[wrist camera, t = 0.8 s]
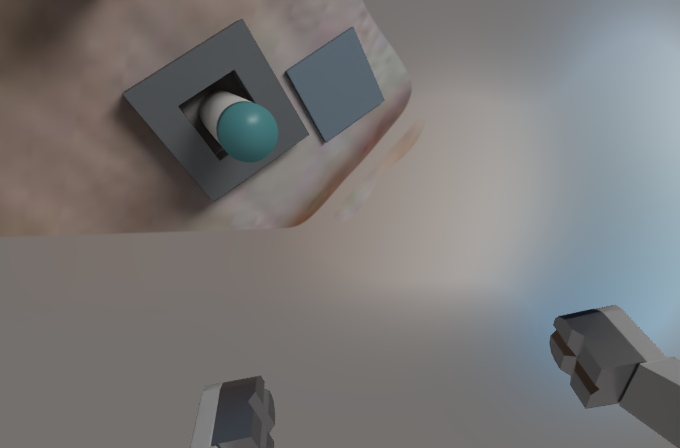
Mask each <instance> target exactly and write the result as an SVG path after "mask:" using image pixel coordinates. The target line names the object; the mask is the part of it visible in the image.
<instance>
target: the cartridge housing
mask: <svg viewBox="0 0 680 448" xmlns="http://www.w3.org/2000/svg"><path fill="white" fill-rule="evenodd" d="M230 72H232V74H233V75H234V77H235V79H236V80H237V82H238V83H239V85H240V86H241V88H242V89H243V91H244V93H245V94H246V96H247V97H248V99H249V100H250V101H251V102H253V103H255V104H258V105H260V106H262V107H264V108H265V109H267V110H268V111H269V112H270V113H271V114H272V116H273V117H274V119H275V121H276V124H277V127H278V139H277V143H276V145H275V147H274V149H273V151H272V152H271V153H270V154H269V155H268V156H267V157H265V158H264V159H262V160H260V161H257V162H249V163H248V162H242V161H239V160H236V159H234V158H233V157H231V156H230V155H229V154H228V153H227V152H226V151H225V149H224V150H223V151H221V152H220V153H218V154H217V155H215V154H214V152H213V151H212V150H211V148H210V147H209V146H208V144H207V143H206V142H205V140H204V139H203V138H202V137H201V135H200V134H199V133H198V131H197V130H196V129H195V127H194V126H193V125H192V123H191V122H190V121H189V120H188V118H187V117H186V116H185V114H184V113H183V112H182V110H181V109H180V108H179V105H180V104H182V103H184V102H185V101H187V100H188V99H190V98H191V97H193V96H194V95H196V94H197V93H199V92H200V91H202V90H204V89H205V88H207V87H208V86H210V85H211V84H213V83H214V82H216V81H217V80H219V79H220V78H222V77H223V76H225V75H227V74H228V73H230ZM123 95H124V97H125V98H126V99H127V100H128V101H129V102H130V104H131V105H132V106H133V107H134V108H135V110H136V111H137V112H138V113H139V114H140V116H141V117H142V118H143V119H144V120H145V122H146V123H147V124H148V125H149V126H150V127H151V129H152V130H153V131H154V132H155V133H156V135H157V136H158V137H159V138H160V139H161V141H162V142H163V143H164V144H165V145H166V147H167V148H168V149H169V150H170V151H171V153H172V154H173V155H174V156H175V157H176V158H177V160H178V161H179V162H180V163H181V164H182V166H183V167H184V168H185V169H186V170H187V172H188V173H189V174H190V175H191V176H192V178H193V179H194V180H195V181H196V182H197V184H198V185H199V186H200V187H201V188H202V189H203V191H204V192H205V193H206V194H207V195H208V197H209V198H210V199H211V200H212V201H213V202H214V201H216V200H217V199H219V198H220V197H221V196H223V195H224V194H226V193H227V192H228V191H230V190H231V189H233V188H234V187H236V186H237V185H238V184H240V183H241V182H243V181H244V180H246V179H247V178H248V177H250V176H251V175H253V174H254V173H255V172H257V171H258V170H260V169H261V168H263V167H264V166H265V165H267V164H268V163H270V162H271V161H273V160H274V159H275V158H277V157H278V156H280V155H281V154H282V153H284V152H285V151H287V150H288V149H290V148H291V147H292V146H294V145H295V144H297V143H298V142H299V141H301V140H302V139H304V138H305V137H307V136H308V135H309V133H308V131H307V130H306V128H305V126H304V124H303V123H302V121H301V119H300V118H299V116H298V114H297V112H296V111H295V109H294V107H293V105H292V104H291V102H290V100H289V98H288V97H287V95H286V93H285V92H284V90H283V88H282V86H281V85H280V83H279V81H278V79H277V78H276V76H275V74H274V73H273V71H272V69H271V67H270V66H269V64H268V62H267V60H266V59H265V57H264V55H263V54H262V52H261V50H260V48H259V47H258V45H257V43H256V41H255V40H254V38H253V36H252V34H251V33H250V31H249V29H248V28H247V26H246V24H245V22H244V21H243V19H240V20H238V21H236V22H234V23H233V24H231V25H229V26H228V27H226V28H225V29H223V30H221V31H220V32H218V33H217V34H215V35H214V36H212V37H210V38H209V39H207V40H206V41H204V42H202V43H201V44H199V45H198V46H196V47H194V48H193V49H191V50H190V51H188V52H187V53H185V54H183V55H182V56H180V57H179V58H177V59H175V60H174V61H172V62H171V63H169V64H167V65H166V66H164V67H163V68H161V69H160V70H158V71H156V72H155V73H153V74H152V75H150V76H148V77H147V78H145V79H144V80H142V81H140V82H139V83H137V84H136V85H134V86H133V87H131V88H129V89H128V90H126V91H125V92H124V93H123Z"/></svg>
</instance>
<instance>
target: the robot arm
mask: <svg viewBox="0 0 680 448" xmlns="http://www.w3.org/2000/svg"><path fill="white" fill-rule="evenodd" d="M553 325H554V327H555V328H556V331H555V332H554V333H553V334H552V335H551V337H550V348H551V353H552V355H553V357H554V360H555V362H556V363H557V365H558V366H559V368H560V369H561V370H562V371H564V372H566V373H567V374H569V375H570V376H571V382H570V385H571V387H572V388H573V390H574V392H575V393H576V395H577V396H578V397H579V399H580V400H581V402H582V404H583V405H584V407H585V408H593V407H599V406H605V405H611V404H617V403H620V404H619V405H620V406H621V407H622V408H624V409H625V410H626V411H628V412H629V413H631V414H632V415H633V416H635V417H636V418H637V419H639V420H640V421H642V422H643V423H644V424H646V425H647V426H649V427H650V428H651V429H653V430H654V431H655V432H657V433H658V434H660V435H661V436H662V437H664V438H665V439H667V440H668V441H669V442H671V443H672V444H673V445H675V446H676V447H678V448H680V360H678V359H677V358H675V357H670V358H667V357H666V356H665V355H664V353H662V351H661V350H660V349H659V348H658V347H657V346H656V345H655V344H654V343H653V342H652V341H651V340H650V338H649V337H648V336H647V335H646V334H645V333H644V332H643V331H642V330H641V329H640V328H639V327H638V326H637V325H636V323H635V322H634V321H633V320H632V319H631V318H630V317H629V316H628V315H627V314H626V313H625V312H624V311H623V310H622V309H621V308H620V307H618V306H616V305H611V306H606V307H602V308H597V309H590V310H585V311H581V312H576V313H572V314H567V315H562V316H558V317H557V318H555V321H554V324H553ZM274 425H275V408H274V401H273V398H272V395H271V393H270V391H269V390H267V389H264V380H263V379H262V377H261V376H255V377H250V378H246V379H240V380H234V381H229V382H222V383H217V384H213V385H208V386H205V388H204V390H203V392H202V394H201V399H200V403H199V408H198V413H197V417H196V422H195V427H194V432H193V436H192V441H191V446H190V448H274V441H273V439H272V438H271V436H270V434H269V433H270V432H271V430H272V428H273V427H274Z"/></svg>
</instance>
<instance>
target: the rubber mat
mask: <svg viewBox="0 0 680 448" xmlns="http://www.w3.org/2000/svg"><path fill="white" fill-rule="evenodd" d="M285 72H286V74H287V75H288V77H289V79H290V81H291V83H292V84H293V86H294V88H295V90H296V92H297V93H298V95H299V97H300V99H301V101H302V102H303V104H304V106H305V108H306V109H307V111H308V113H309V115H310V117H311V118H312V120H313V122H314V124H315V126H316V127H317V129H318V131H319V133H320V134H321V136H322V138H323V140H324V141H325V142H327V141H328V140H330V139H331V138H332V137H334V136H335V135H337V134H338V133H339V132H341V131H342V130H344V129H345V128H346V127H348V126H349V125H351V124H352V123H353V122H355V121H356V120H358V119H359V118H360V117H362V116H363V115H365V114H366V113H367V112H369V111H370V110H372V109H373V108H374V107H376V106H377V105H379V104H380V103H381V102H383V101H384V98H383V96H382V93H381V91H380V89H379V86H378V84H377V82H376V79H375V77H374V74H373V72H372V70H371V67H370V65H369V63H368V60H367V58H366V56H365V53H364V51H363V49H362V46H361V44H360V42H359V39H358V37H357V34H356V32H355V30H354V27H351V28H349V29H348V30H346V31H345V32H343V33H342V34H340V35H339V36H337V37H336V38H334V39H333V40H331V41H330V42H328V43H327V44H325V45H324V46H322V47H321V48H319V49H318V50H316V51H315V52H313V53H312V54H310V55H309V56H307V57H306V58H304V59H303V60H301V61H300V62H298V63H297V64H295V65H294V66H292V67H291V68H289V69H288V70H286V71H285Z"/></svg>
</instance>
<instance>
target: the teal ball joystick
mask: <svg viewBox="0 0 680 448" xmlns="http://www.w3.org/2000/svg"><path fill="white" fill-rule="evenodd" d="M199 114H200V118H201V121H202V123H203V125H204V126H205V127H206V128H207V129H208V131H209V132H210V133H211V134H212V135H213V137H214V138H215V139H216V140H217V141H218V142H219V144H220V145H221V146H222V147H223V148H224V149H225V151H226V152H227V153H228V154H229V155H230V156H231V157H233V158H234V159H236V160H239V161H242V162H248V163H249V162H257V161H260V160H262V159H264V158H265V157H267V156H268V155H269V154H270V153H271V152H272V151H273V149H274V147H275V145H276V143H277V139H278V127H277V124H276V121H275V119H274V117H273V116H272V114H271V113H270V112H269V111H268V110H267V109H265V108H264V107H262V106H260V105H258V104H255V103H253V102H251V101H248V100H246V99H244V98H241V97H239V96H237V95H234V94H232V93H230V92H227V91H220V90H219V91H214V92H211V93H209V94H208V95H206V96H205V97H204V99H203V100H202V102H201V104H200V108H199Z"/></svg>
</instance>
